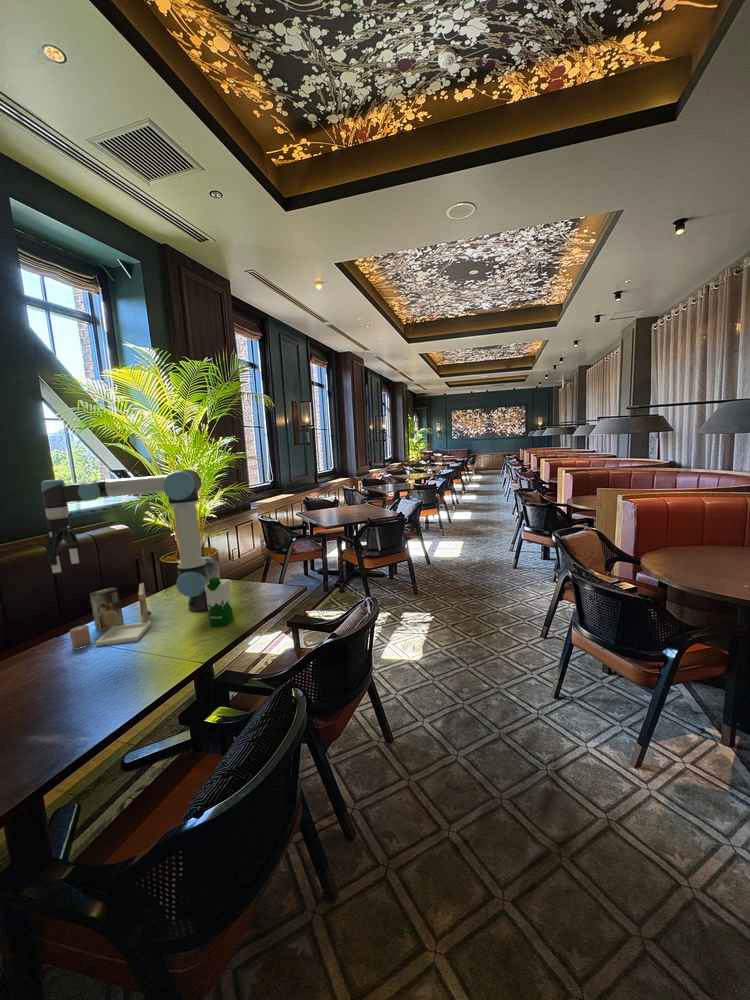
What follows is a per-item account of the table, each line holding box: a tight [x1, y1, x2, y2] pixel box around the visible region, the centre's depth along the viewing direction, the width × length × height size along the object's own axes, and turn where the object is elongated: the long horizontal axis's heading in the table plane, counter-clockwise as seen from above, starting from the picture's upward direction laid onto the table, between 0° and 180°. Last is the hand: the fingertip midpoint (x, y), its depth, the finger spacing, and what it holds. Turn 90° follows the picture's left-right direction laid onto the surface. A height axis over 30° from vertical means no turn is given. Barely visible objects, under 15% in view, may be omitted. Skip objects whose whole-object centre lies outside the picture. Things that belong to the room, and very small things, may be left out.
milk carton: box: [204, 577, 234, 628], centre depth 175 cm, size 9×9×20 cm
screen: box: [138, 582, 152, 623], centre depth 186 cm, size 4×18×14 cm, turn 28°
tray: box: [95, 620, 152, 647], centre depth 170 cm, size 15×15×2 cm
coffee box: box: [89, 586, 125, 633], centre depth 180 cm, size 9×6×16 cm
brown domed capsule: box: [69, 624, 92, 649], centre depth 163 cm, size 6×6×7 cm
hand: (66, 567), depth 174 cm, fingers open, 13 cm apart
